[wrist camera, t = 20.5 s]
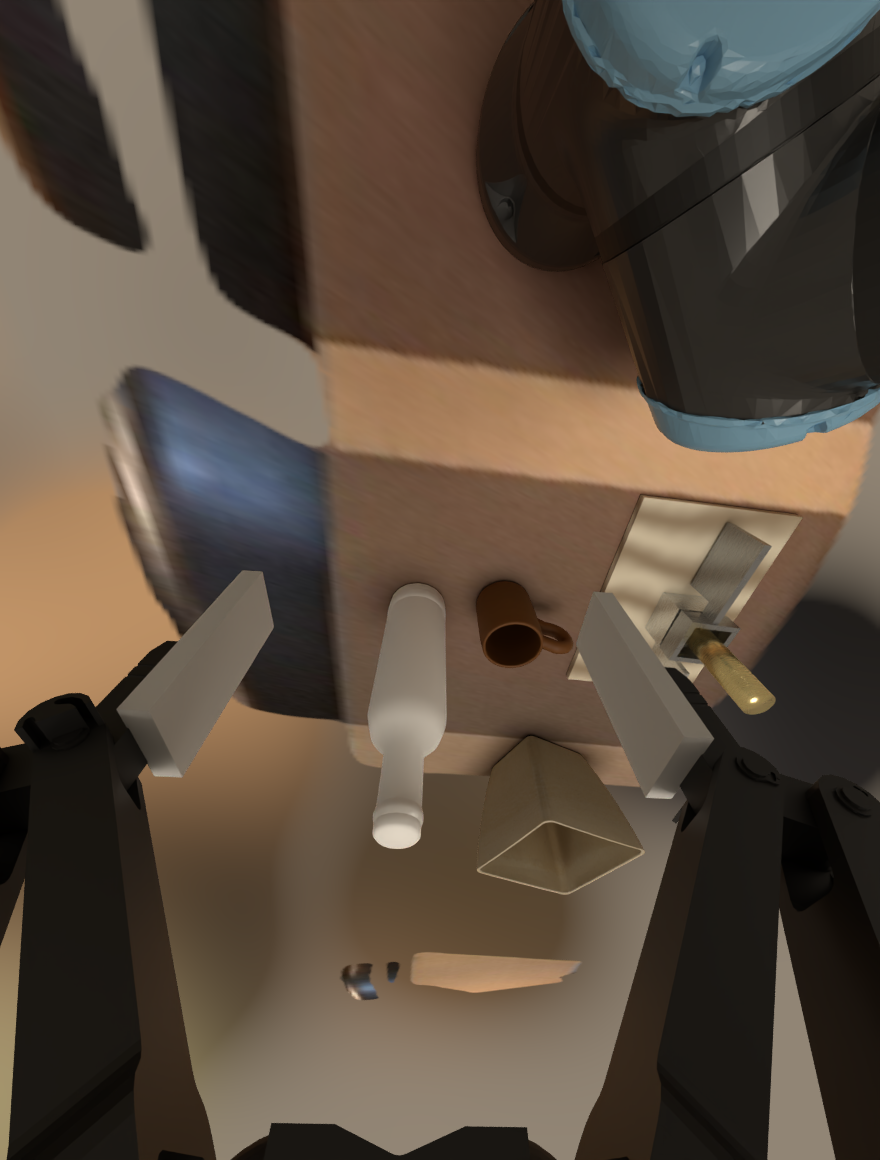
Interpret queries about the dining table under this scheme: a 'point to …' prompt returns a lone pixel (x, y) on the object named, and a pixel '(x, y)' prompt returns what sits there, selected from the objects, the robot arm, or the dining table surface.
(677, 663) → the hinge base
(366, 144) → the dining table surface
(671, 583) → the board
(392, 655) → the bottle
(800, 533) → the dining table surface
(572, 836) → the flower pot
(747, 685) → the pin
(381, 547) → the dining table surface
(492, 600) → the mug
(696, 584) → the square frame with bar
